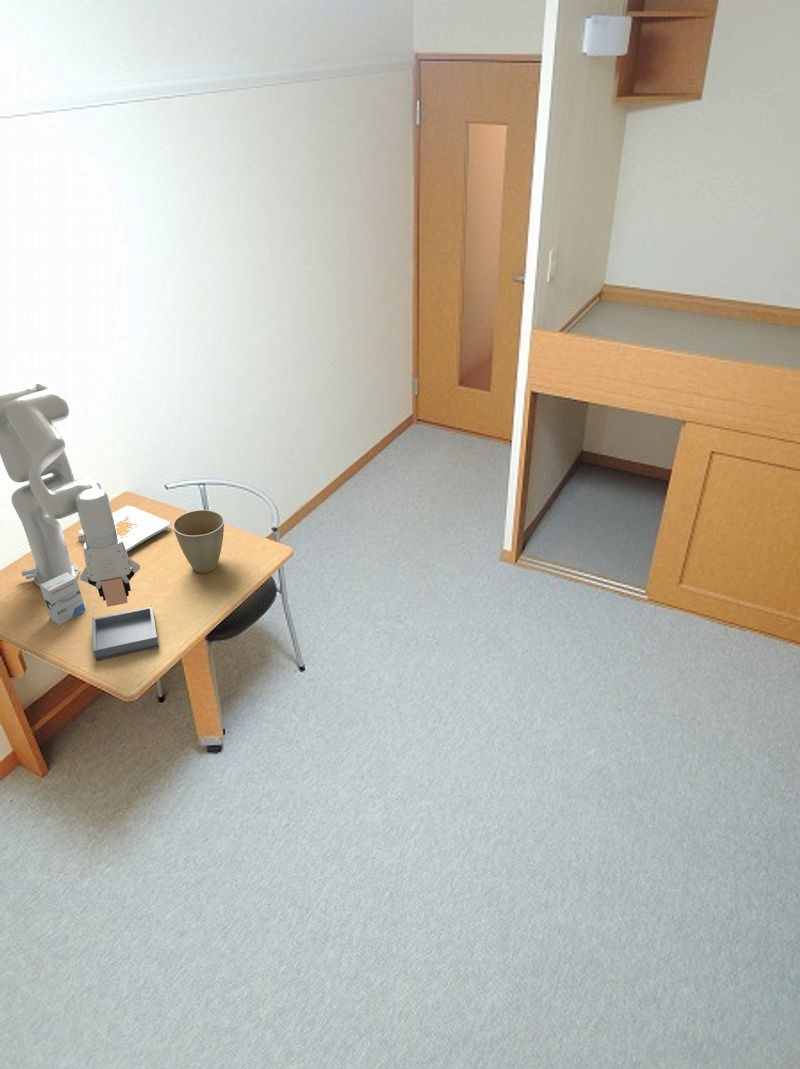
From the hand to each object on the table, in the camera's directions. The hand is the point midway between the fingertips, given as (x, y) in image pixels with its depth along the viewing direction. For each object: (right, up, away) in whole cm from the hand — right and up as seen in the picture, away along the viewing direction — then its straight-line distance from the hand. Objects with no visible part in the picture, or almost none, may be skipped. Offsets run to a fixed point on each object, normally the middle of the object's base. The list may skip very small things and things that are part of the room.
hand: (115, 594), depth 196 cm
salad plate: (-16, +15, +52) cm, 56 cm away
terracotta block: (0, -1, +1) cm, 2 cm away
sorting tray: (0, -12, +8) cm, 15 cm away
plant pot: (+14, +6, +37) cm, 40 cm away
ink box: (-20, -7, +16) cm, 27 cm away
